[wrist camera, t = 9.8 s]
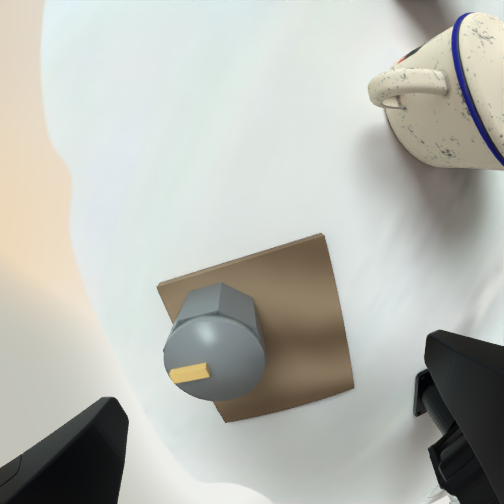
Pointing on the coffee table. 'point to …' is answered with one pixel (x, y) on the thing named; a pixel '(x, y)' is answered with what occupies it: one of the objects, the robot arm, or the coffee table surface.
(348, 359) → the base plate
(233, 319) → the knob
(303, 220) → the coffee table surface
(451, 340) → the robot arm
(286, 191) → the coffee table surface
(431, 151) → the teacup with lid
